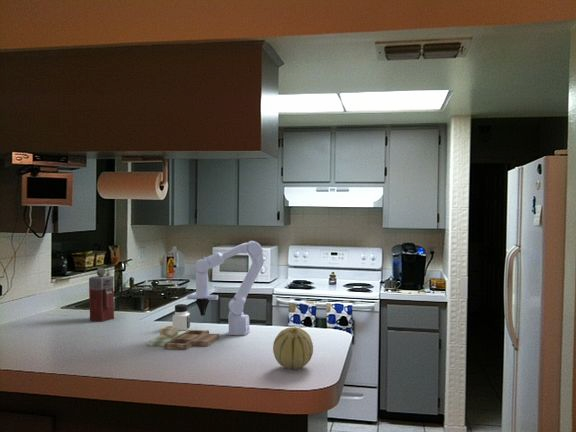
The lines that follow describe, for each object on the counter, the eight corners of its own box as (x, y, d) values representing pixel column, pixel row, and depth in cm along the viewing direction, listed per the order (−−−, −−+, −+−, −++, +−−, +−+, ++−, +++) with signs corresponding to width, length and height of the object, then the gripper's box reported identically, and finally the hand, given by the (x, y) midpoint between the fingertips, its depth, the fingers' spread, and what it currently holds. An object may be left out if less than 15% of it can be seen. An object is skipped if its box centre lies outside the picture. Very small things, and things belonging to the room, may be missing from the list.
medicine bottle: (187, 330, 251) (186, 305, 251) (172, 330, 251) (172, 305, 251) (190, 327, 258) (189, 303, 258) (176, 327, 258) (175, 303, 258)
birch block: (178, 334, 233) (177, 326, 233) (172, 338, 228) (172, 329, 227) (165, 334, 235) (165, 325, 235) (159, 337, 229) (159, 328, 229)
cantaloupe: (297, 359, 197) (296, 320, 197) (322, 368, 185) (321, 326, 185) (264, 367, 188) (264, 326, 188) (289, 377, 176) (288, 333, 176)
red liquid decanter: (106, 322, 275) (104, 269, 274) (89, 320, 279) (88, 268, 279) (117, 318, 283) (116, 267, 283) (101, 317, 287) (100, 266, 287)
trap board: (223, 335, 240) (223, 330, 240) (202, 350, 214) (202, 345, 214) (171, 333, 245) (170, 329, 245) (144, 348, 219) (144, 343, 219)
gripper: (184, 286, 237) (184, 316, 237) (214, 287, 234) (214, 317, 234) (190, 284, 244) (190, 313, 244) (219, 285, 241) (220, 314, 241)
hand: (203, 315), depth 239 cm, fingers closed
